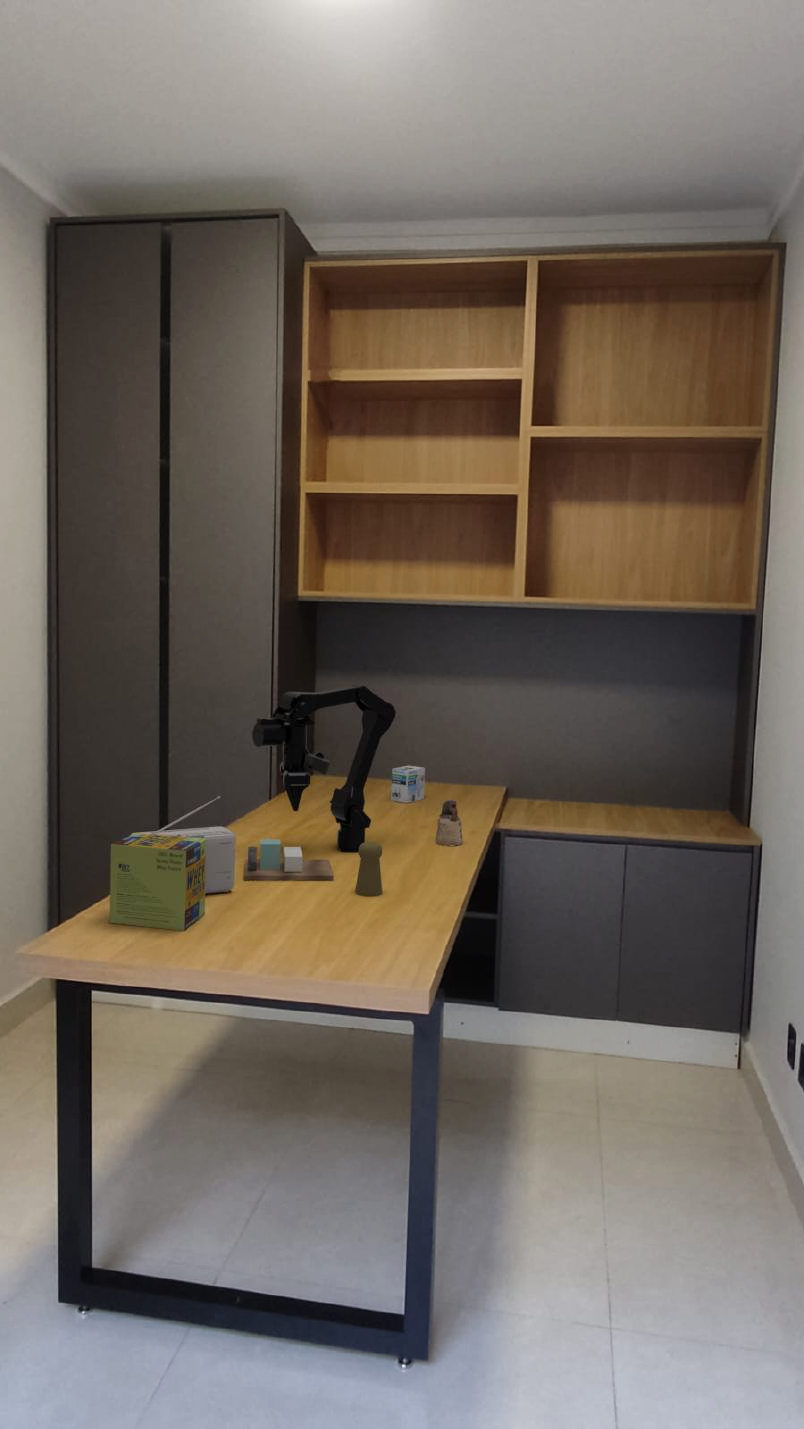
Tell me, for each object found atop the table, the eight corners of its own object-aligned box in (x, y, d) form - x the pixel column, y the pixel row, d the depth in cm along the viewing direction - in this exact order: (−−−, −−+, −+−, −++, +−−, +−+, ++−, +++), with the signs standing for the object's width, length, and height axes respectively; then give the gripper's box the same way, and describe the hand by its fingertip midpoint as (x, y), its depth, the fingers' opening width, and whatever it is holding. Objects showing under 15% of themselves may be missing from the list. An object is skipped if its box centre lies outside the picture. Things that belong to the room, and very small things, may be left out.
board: (328, 864, 228) (329, 843, 228) (333, 880, 214) (334, 858, 214) (244, 864, 225) (245, 842, 224) (244, 880, 211) (244, 857, 211)
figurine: (456, 839, 259) (458, 796, 258) (466, 845, 253) (468, 801, 251) (432, 840, 257) (433, 797, 256) (441, 846, 250) (443, 802, 249)
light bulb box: (407, 803, 306) (408, 770, 305) (390, 800, 310) (391, 768, 309) (424, 799, 315) (426, 767, 314) (407, 796, 319) (409, 764, 318)
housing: (300, 861, 224) (300, 846, 224) (302, 871, 216) (302, 856, 215) (283, 861, 224) (283, 846, 223) (284, 871, 215) (284, 856, 215)
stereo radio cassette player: (137, 905, 191) (138, 807, 189) (127, 893, 198) (128, 800, 196) (235, 893, 202) (238, 801, 200) (222, 883, 209) (225, 794, 207)
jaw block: (279, 864, 221) (280, 839, 221) (279, 869, 217) (280, 844, 216) (260, 864, 221) (260, 839, 220) (259, 869, 216) (260, 844, 216)
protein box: (185, 931, 177) (186, 850, 175) (108, 923, 179) (109, 843, 178) (206, 914, 187) (208, 837, 185) (133, 907, 190) (134, 831, 188)
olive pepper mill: (384, 896, 204) (386, 846, 203) (356, 896, 203) (358, 846, 202) (380, 888, 210) (382, 839, 209) (353, 888, 209) (355, 839, 208)
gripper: (331, 749, 223) (331, 814, 225) (324, 738, 241) (323, 798, 243) (284, 750, 221) (283, 815, 223) (280, 738, 239) (279, 799, 241)
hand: (294, 806), depth 232 cm, fingers open, 9 cm apart
